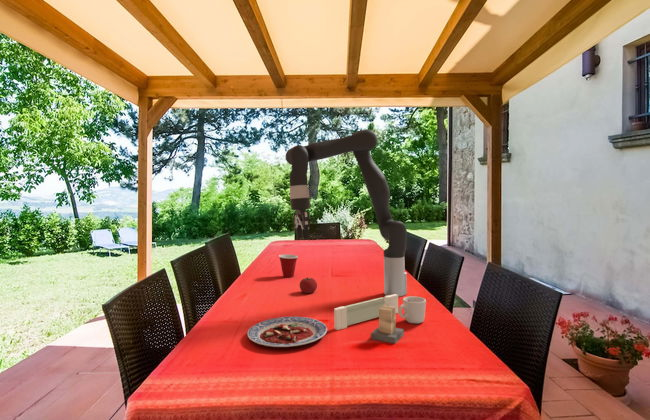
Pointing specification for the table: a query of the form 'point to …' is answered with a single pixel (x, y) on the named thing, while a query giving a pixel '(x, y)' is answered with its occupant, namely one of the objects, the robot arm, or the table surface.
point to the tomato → (308, 285)
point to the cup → (413, 309)
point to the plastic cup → (288, 264)
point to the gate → (364, 310)
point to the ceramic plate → (287, 331)
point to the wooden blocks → (341, 312)
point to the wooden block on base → (387, 326)
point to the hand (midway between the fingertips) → (302, 238)
